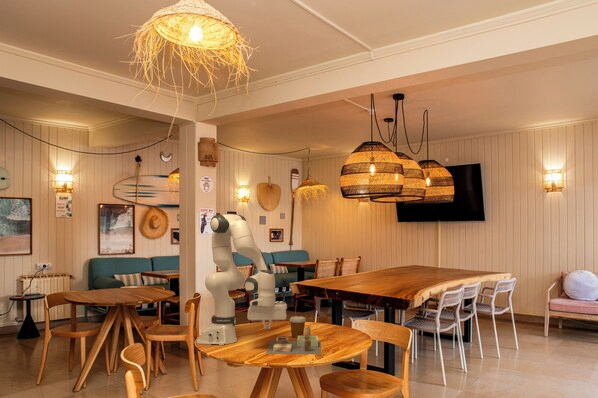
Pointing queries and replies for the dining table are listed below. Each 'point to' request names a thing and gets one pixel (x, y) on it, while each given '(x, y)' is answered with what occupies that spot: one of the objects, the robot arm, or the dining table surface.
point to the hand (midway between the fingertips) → (267, 328)
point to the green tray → (302, 341)
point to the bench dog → (307, 345)
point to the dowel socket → (281, 340)
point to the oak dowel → (307, 332)
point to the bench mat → (294, 349)
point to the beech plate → (282, 348)
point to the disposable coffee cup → (297, 326)
